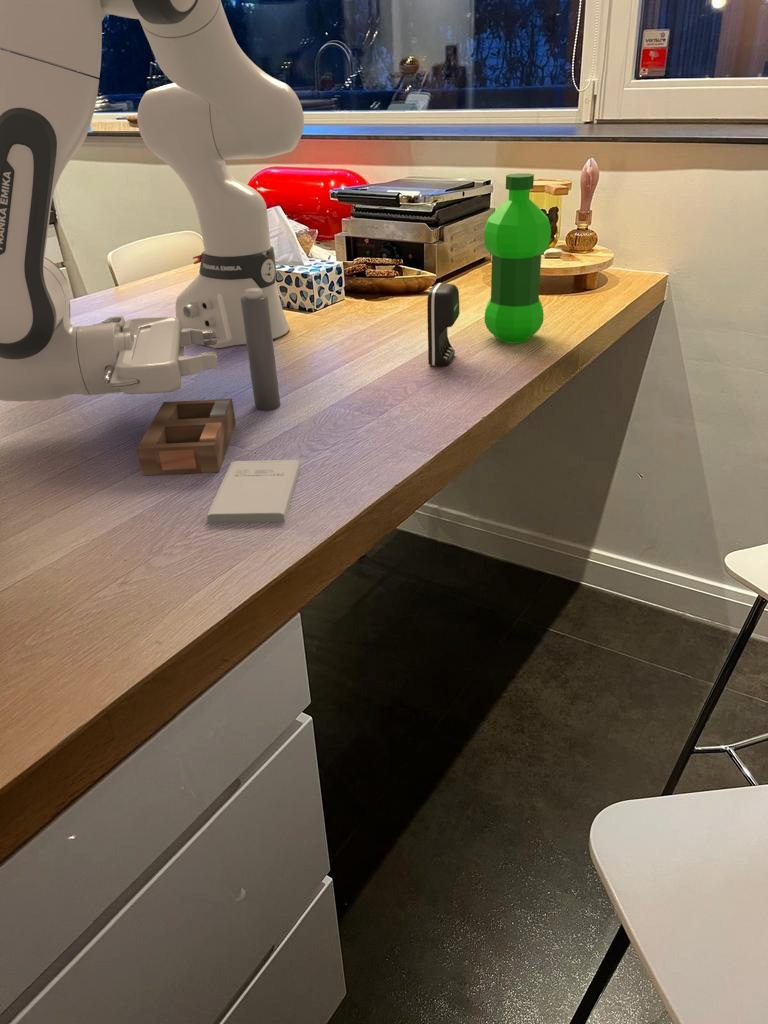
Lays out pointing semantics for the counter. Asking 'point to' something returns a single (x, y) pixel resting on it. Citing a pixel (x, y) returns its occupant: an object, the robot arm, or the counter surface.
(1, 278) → the robot arm
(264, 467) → the external hard drive
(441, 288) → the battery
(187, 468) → the dock
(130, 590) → the counter surface
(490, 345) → the counter surface
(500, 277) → the plastic bottle
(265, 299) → the plug
